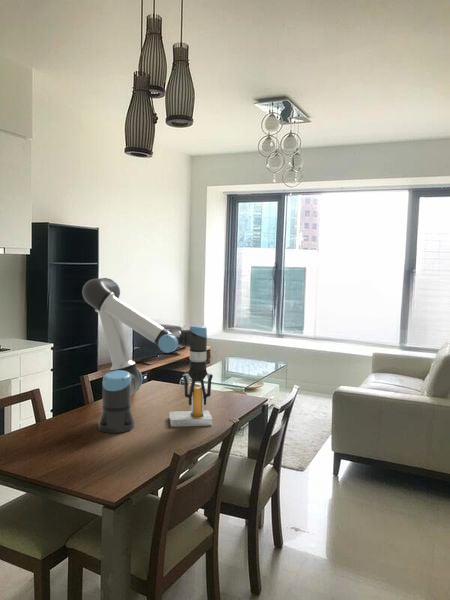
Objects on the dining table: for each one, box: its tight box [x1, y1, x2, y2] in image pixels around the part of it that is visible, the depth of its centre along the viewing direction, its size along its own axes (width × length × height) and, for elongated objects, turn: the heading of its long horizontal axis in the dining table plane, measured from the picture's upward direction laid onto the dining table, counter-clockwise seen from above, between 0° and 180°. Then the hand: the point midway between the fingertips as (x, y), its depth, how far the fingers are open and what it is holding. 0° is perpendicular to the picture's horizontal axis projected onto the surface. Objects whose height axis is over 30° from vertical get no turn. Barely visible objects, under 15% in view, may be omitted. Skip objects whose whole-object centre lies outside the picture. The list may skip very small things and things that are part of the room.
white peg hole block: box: [168, 409, 213, 428], centre depth 213 cm, size 18×12×3 cm, turn 99°
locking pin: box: [192, 386, 203, 417], centre depth 213 cm, size 4×4×14 cm
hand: (197, 411), depth 214 cm, fingers closed on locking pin, 4 cm apart
